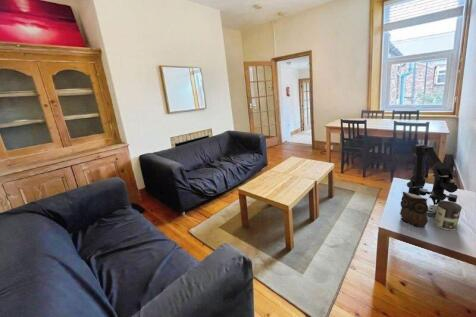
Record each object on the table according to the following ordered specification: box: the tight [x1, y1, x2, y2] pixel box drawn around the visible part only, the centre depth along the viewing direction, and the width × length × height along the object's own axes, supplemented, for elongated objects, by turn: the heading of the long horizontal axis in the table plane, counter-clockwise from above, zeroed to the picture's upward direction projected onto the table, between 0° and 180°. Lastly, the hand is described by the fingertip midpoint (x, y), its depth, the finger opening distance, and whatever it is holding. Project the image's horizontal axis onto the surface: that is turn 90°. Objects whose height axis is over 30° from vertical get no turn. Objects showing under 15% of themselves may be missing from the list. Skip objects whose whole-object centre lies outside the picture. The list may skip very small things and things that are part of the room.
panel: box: [426, 204, 436, 218], centre depth 146 cm, size 12×12×3 cm
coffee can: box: [433, 200, 462, 231], centre depth 134 cm, size 10×10×14 cm
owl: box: [399, 191, 429, 229], centre depth 139 cm, size 13×13×20 cm
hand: (435, 206), depth 149 cm, fingers closed
